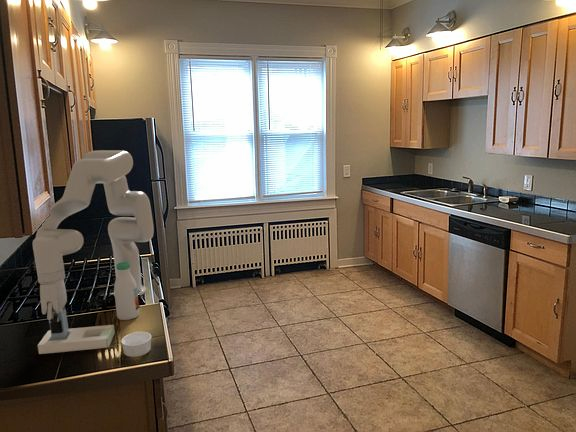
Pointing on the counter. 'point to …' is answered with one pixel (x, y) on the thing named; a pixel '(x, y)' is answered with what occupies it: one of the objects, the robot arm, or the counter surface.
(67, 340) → the socket panel
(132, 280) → the milk bottle
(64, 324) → the plug
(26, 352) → the counter surface
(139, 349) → the ramekin
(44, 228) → the robot arm
